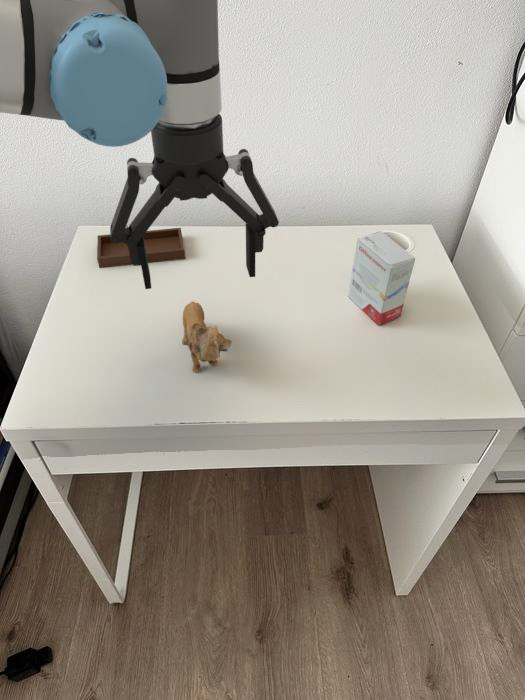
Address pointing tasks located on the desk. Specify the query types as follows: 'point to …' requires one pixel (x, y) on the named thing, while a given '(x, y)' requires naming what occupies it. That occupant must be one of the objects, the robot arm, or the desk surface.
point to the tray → (156, 243)
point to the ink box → (380, 277)
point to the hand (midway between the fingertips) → (200, 276)
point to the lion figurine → (202, 337)
